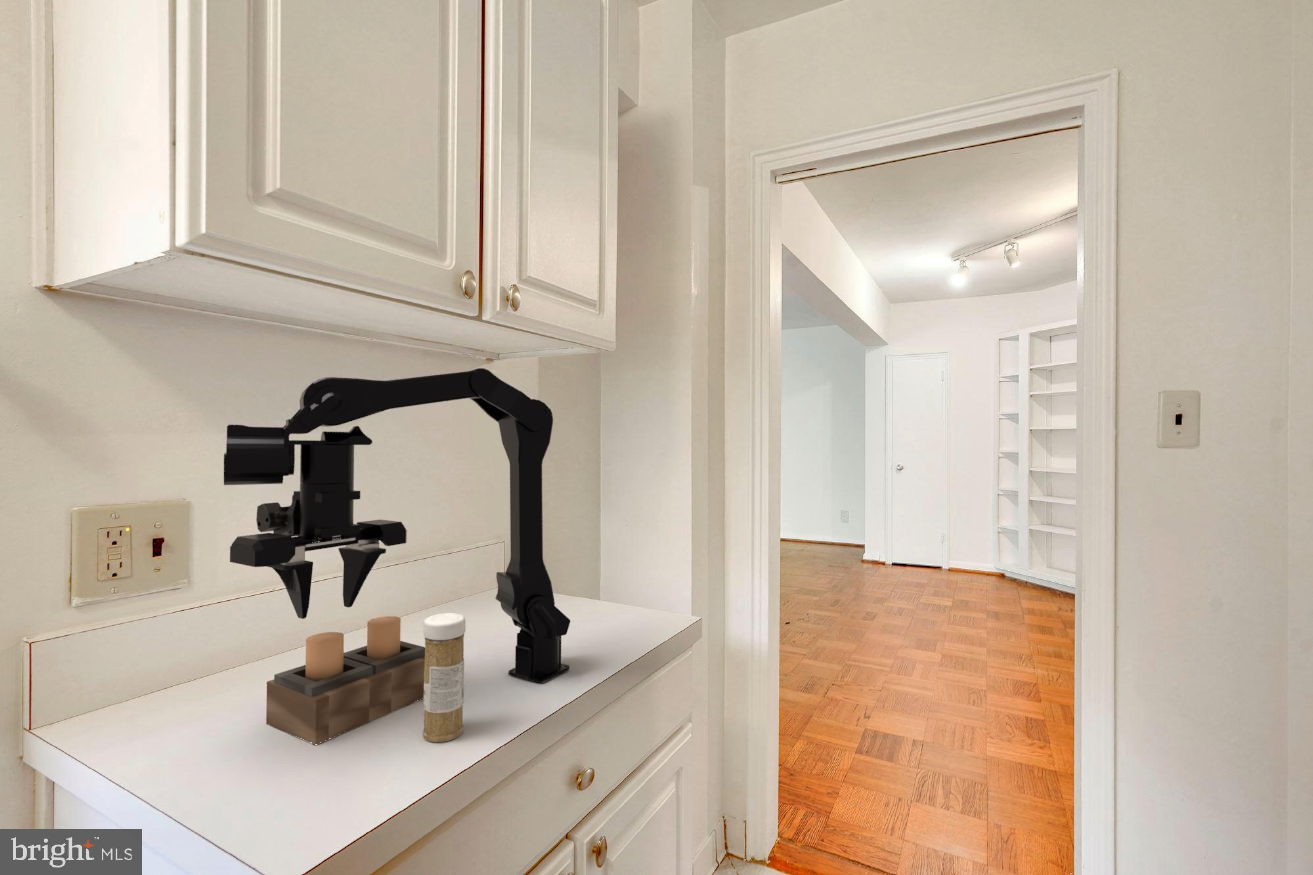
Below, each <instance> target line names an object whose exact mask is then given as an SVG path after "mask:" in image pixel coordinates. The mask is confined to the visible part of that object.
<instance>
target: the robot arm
mask: <svg viewBox="0 0 1313 875" xmlns="http://www.w3.org/2000/svg"><path fill="white" fill-rule="evenodd" d="M466 399H470V400H471V401H473V402H474V403H475V404H476V405H477V406H478V407H480V409H481V410H482V411H483V412H484V413H485V414H486V415H488V417H489V418H491V419H493V420H494V421H496V422H497V423H498V426H499V427H498V428H499V432H500V437H501V443H502V446H503V448H504V450H505V454H506V456H507V460H508V461H509V462H508V463H509V510H510V512H509V516H510V517H509V518H510V519H509V520H510V521H509V522H510V524H509V525H510V529H509V531H510V534H509V535H510V560H509V562H508V565H507V568H506V571H505V572H504V571H497V572H496V576H495V577H496V584H497V594H496V596H495V600H496V601H498V602H500V607H501V609H502V611H503V612H504V613H505V614H506V615H507V616H509V617H510V618H511V620H512V623H513V625H514V626H516V627H518V628H520V630H519V632H517V633H516V645H515V648H514V649H515V651H514V652H515V658H514V659H515V663H514V664H515V666H514V667H513V668H511V669H509V670H508V672H507V674H508V675H509V676H513V677H517V678H519V679H520V678H521V679H525V680H528V681H531V682H535V683H539V684H542V683H545V682H548V681H549V680H551V679H554V678H555V677H556V676H559V675H561V674H562V673H564V672H567V671H569V670H570V665H569V664H566V663H562V636H566V635H567V633H568V630H569V627H570V623H571V619H570V618H569V617H568V616H566V614H564V613H563V612H562V611H561V610H560V609H559V608H558V607H557V606H556V604H555V598H554V591H553V586H552V580H551V578H550V575H549V572H548V570H547V568H546V564H545V562H544V561H545V560H544V555H543V554H544V545H543V544H544V543H543V542H544V538H543V536H544V534H543V530H544V529H543V527H544V525H543V522H544V521H543V461H544V458H545V456H546V453H547V450H548V448H549V447H550V443H551V439H552V438H551V436H552V432H553V431H552V430H553V425H554V418H553V417H554V416H553V413H552V410H551V408H550V407H549V406H548V405H547V404H546V403H545V402H544V401H541V400H539V399H535V398H530V397H529V396H528V395H527V394H525V393H524V392H522V391H521V390H520V389H517V388H516V387H514V386H512V385H510V384H508V383H507V382H506V381H503V380H501V379H500V378H499V377H498V376H497V375H495V374H494V373H493V372H491V371H490V370H489V369H487V368H483V367H479V368H478V367H477V368H475V369H471V370H468V371H461V372H452V373H451V372H449V373H442V374H433V375H432V374H431V375H425V376H423V375H422V376H415V377H408V378H407V377H406V378H396V379H389V380H380V379H379V380H376V379H367V378H366V379H365V378H356V377H333V376H331V377H330V376H327V377H321V378H318V379H317V380H314V381H312V383H310V384H309V385H308V386H307V387H306V388H305V389H304V390H303V391H302V393H301V395H300V399H299V409H298V410H297V412H296V413H295V414H293V416H292V417H291V418H289V419H288V418H287V419H286V420H285V425H284V426H281V427H279V426H274V427H273V426H247V425H243V424H228V425H227V426H226V444H225V445H226V447H225V448H226V450H225V452H224V453H223V485H224V486H243V485H247V486H248V485H250V486H251V485H281V484H282V485H283V484H284V483H283V482H284V477H289V476H294V475H295V474H294V473H295V466H296V465H295V463H296V462H295V460H296V458H295V457H296V455H295V453H296V452H295V450H296V449H295V447H296V445H297V446H300V457H299V458H300V459H299V460H300V461H299V462H300V463H299V464H300V465H299V466H300V467H299V475H300V476H299V490H295V491H294V490H293V494H292V496H291V498H292V499H291V505H288V506H282V505H281V504H280V503H279V502H277V501H275V502H268V503H261V504H260V505H257V507H256V509H257V510H256V528H257V530H258V531H259V532H260V533H257V534H249V535H239V536H236V538H235V539H234V541H232V543H231V545H230V546H229V563H233V564H236V565H237V564H239V565H243V566H248V567H252V568H253V567H254V568H263V567H267V568H271V569H272V570H274V571H275V573H276V574H277V575H278V576H279V578H280V580H281V582H282V583H283V585H284V587H285V589H286V591H287V593H288V597H289V599H290V601H291V603H292V607H293V609H294V610H295V613H296V617H297V618H299V619H302V620H303V619H304V620H305V619H306V618H307V616H308V610H309V607H310V601H311V600H310V598H311V591H312V590H311V589H312V579H313V567H314V562H313V561H309V560H306V552H311V551H316V550H323V549H330V548H337V547H339V548H338V552H339V554H340V556H341V558H342V559H341V560H342V561H343V572H342V573H343V574H342V575H343V577H342V580H343V581H342V600H343V606H344V607H346V608H351V607H352V606H353V605H354V603H355V602H356V599H357V597H358V595H359V593H360V591H361V590H362V587H363V586H364V583H365V581H366V579H367V577H368V575H369V574H370V572H371V570H372V569H373V568H374V565H375V564H376V562H377V561H378V559H379V558H380V557H381V555H384V554H386V553H387V548H382V547H380V542H381V543H382V544H383V545H384V546H387V547H391V546H396V545H397V546H399V545H404V544H407V538H408V537H407V535H408V533H407V532H408V530H407V528H406V526H405V525H404V523H403V522H402V521H396V520H387V519H374V520H373V519H372V520H366V521H358V522H356V523H354V505H355V504H354V501H356V500H361V490H355V481H354V480H355V446H371V445H372V444H373V440H372V438H370V437H369V436H367V435H366V434H365V433H364V432H363V431H362V429H361V427H360V426H359V425H354V426H353V427H352V428H350V430H349V431H322V432H321V435H320V440H315V439H314V440H305V439H303V440H299V439H297V440H295V439H291V440H290V435H306V434H309V433H311V432H312V431H314V430H317V429H318V428H319V427H326V428H328V427H329V428H330V427H336V426H341V425H344V424H347V423H350V422H353V421H356V420H359V419H363V418H367V417H369V416H372V415H376V414H379V413H382V412H384V411H388V410H393V409H401V408H408V407H414V406H421V405H428V404H437V403H443V402H450V401H458V400H466ZM264 532H265V533H264Z"/></svg>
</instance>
